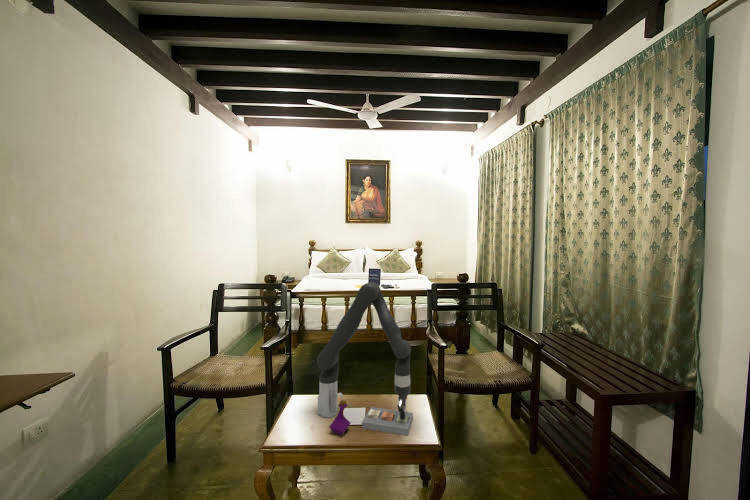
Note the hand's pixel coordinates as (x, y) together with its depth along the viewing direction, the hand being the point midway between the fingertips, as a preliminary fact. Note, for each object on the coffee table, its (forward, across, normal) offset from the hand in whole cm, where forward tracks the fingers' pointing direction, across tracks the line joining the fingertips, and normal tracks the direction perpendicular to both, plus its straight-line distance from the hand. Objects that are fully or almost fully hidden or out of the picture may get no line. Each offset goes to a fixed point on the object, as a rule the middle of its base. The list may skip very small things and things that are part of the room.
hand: (402, 418), depth 159 cm
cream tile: (+1, 0, -14) cm, 14 cm away
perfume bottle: (+4, +13, -27) cm, 30 cm away
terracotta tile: (+1, 0, -7) cm, 7 cm away
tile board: (+3, 0, -7) cm, 8 cm away
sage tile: (+2, 0, 0) cm, 2 cm away
